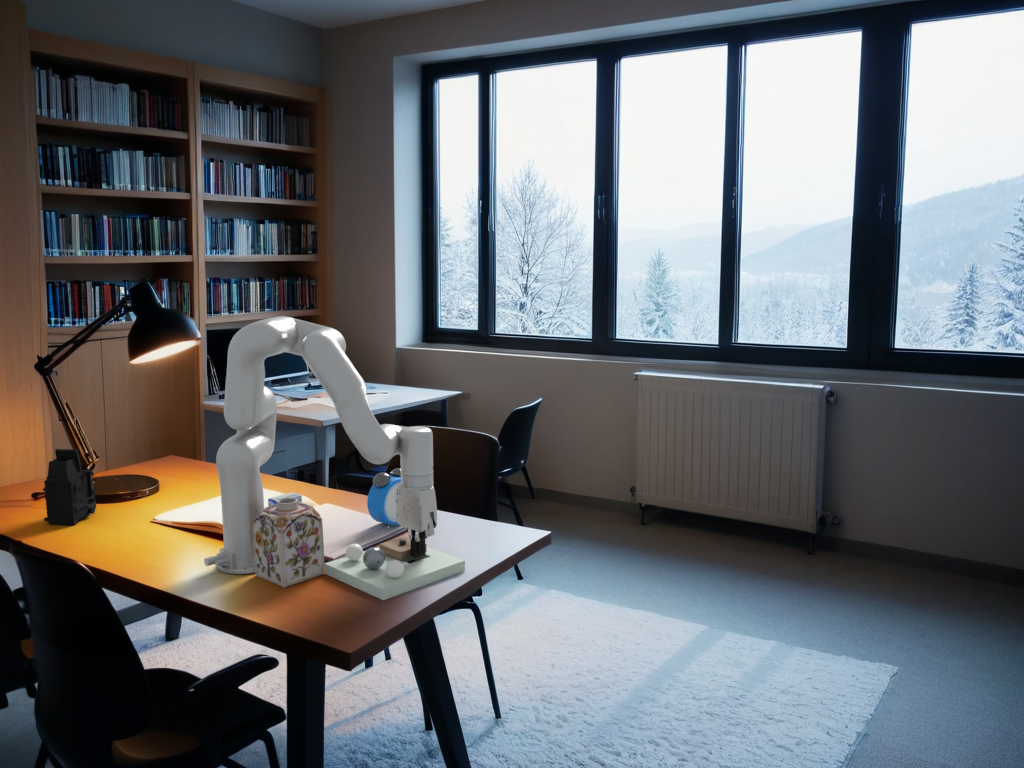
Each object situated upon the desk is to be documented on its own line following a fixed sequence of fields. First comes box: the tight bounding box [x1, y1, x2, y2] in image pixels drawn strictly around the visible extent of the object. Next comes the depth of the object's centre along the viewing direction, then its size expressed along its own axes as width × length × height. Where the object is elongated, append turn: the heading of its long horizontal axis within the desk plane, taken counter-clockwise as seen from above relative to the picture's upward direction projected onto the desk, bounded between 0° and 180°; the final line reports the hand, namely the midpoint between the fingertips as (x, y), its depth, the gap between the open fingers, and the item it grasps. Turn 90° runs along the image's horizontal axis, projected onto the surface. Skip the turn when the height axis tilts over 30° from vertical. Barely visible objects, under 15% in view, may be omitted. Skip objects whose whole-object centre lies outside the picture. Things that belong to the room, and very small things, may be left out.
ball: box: [363, 546, 385, 570], centre depth 196 cm, size 5×5×5 cm
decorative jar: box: [253, 498, 325, 589], centre depth 198 cm, size 12×12×18 cm
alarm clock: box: [366, 467, 401, 527], centre depth 235 cm, size 13×6×15 cm, turn 143°
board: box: [324, 546, 466, 601], centre depth 201 cm, size 24×22×2 cm
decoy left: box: [345, 543, 364, 561], centre depth 201 cm, size 4×4×4 cm
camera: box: [42, 448, 97, 526], centre depth 239 cm, size 10×14×20 cm
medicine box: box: [267, 492, 303, 507], centre depth 232 cm, size 8×4×9 cm, turn 141°
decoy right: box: [386, 560, 404, 578], centre depth 191 cm, size 4×4×4 cm
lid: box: [378, 536, 428, 560], centre depth 206 cm, size 8×8×3 cm
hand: (418, 555), depth 202 cm, fingers closed
